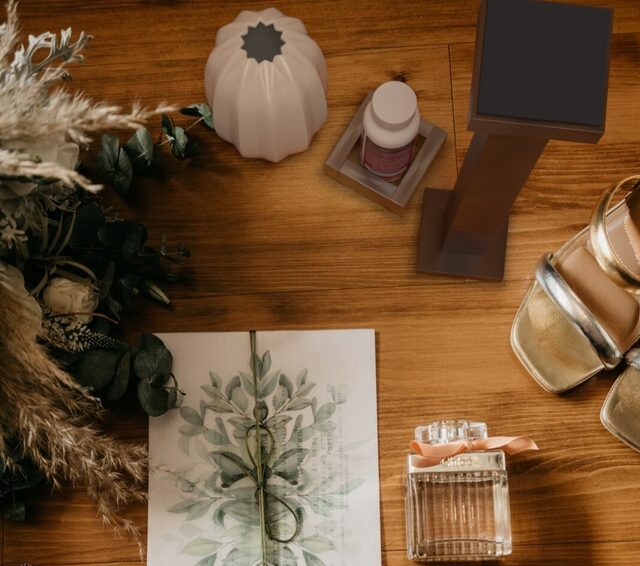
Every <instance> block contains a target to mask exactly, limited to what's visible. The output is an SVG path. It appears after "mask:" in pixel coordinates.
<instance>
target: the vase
mask: <svg viewBox="0 0 640 566" xmlns="http://www.w3.org/2000/svg"><path fill="white" fill-rule="evenodd" d="M203 77H204V79H203V84H204V93H205V98H206V100H207V102H208V105H209V107H210V109H211V110H212V118H213V119H212V120H213V126H214V130H215V132H216V135H217V136H218V137H219V138H221V139H222V140H224V141H226V142H228V143H229V144H232V145H233V146H234V147H235V149H236V150H237V152H238V153H239V155H240V156H241V157H242V158H244V159H247V158H248V159H263V160H266V161H269V162H273V163H278V162H280V161H282V160H283V159H285V158H287V157H288V156H291V155H295V154H298V153H301V152H305V151H308V149H309V147H310V145H311V142H312V139H313V137H314V135H315V134H316V133H318V132H319V131H320V130H321V129H322V128H323V127H324V126H325V125H326V123H327V120H328V113H329V109H328V103H327V97H326V96H327V92H328V87H329V72H328V67H327V63H326V59H325V56H324V53H323V50H322V49H321V48H320V45H318V43H317V42H316V41H315V40H314V39H313V38H312V37H311V36H310V35H309V34H308V30H307V27H306V24H305V23H304V22H303V21H302V19H300V18H298V17H293V16H288V15H286V14H284V13H283V12H282V11H281V10H279V9H278V8H276V7H272V6H271V7H268V8H265V9H262V10H257V11H256V10H247V9H245V10H241V11H240V12H239V14H237V16H236V17H235V18H234V20H232V22H230V23H227V24H225V25H223V26H221V27H220V28H219V29H218V30H217V32H216V34H215V41H214V47H213V49H212V50H211V52H210V53H209V56H208V59H207V61H206V63H205V68H204V76H203Z"/></svg>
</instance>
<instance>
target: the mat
mask: <svg viewBox="0 0 640 566" xmlns="http://www.w3.org/2000/svg"><path fill="white" fill-rule="evenodd" d="M610 12H611V9H603V8H594V7H584V6H575V5H565V4H556V3H546V2H537V1H527V0H488V1H487V12H486V22H485V33H484V43H483V53H482V64H481V74H480V84H479V95H478V105H477V114H480V115H489V116H499V117H508V118H517V119H527V120H536V121H546V122H555V123H564V124H574V125H583V126H593V127H600V126H601V124H602V112H603V99H604V87H605V74H606V62H607V49H608V37H609V24H610Z"/></svg>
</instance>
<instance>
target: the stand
mask: <svg viewBox="0 0 640 566" xmlns="http://www.w3.org/2000/svg"><path fill="white" fill-rule="evenodd" d="M374 93H375V90H374V91H373V90H372V89H370V90H369V91H368V93H367V95H366V96H365V98H364V99H363V101H362V103H361V104H360V105H359V107H358V109H357V111H356V112H355V113H354V116H353V117H352V119H351V120H350V122H349V124H348V125H347V127H346V129H345V130H344V132H343V133H342V135H341V137H340V138H339V140H338V141H337V143H336V145H335V146H334V148H333V150H332V151H331V153H330V155H329V157H328V158H327V160H326V161H325V162H324V166H325V168H324V175H326V176H327V177H328V178H331V179H333V180H334V181H336V182H338V183H340V184H342V185H343V186H345V187H346V188H349V189H350V190H352V191H354V192H356V193H357V194H359V195H361V196H363V197H365V198H366V199H368V200H370V201H372V202H374V203H375V204H377V205H379V206H381V207H383V209H386V210H388V211H390V212H391V213H393V214H395V215H397V216H398V217H400V218H402V217H403V216H404V214H405V212H406V210H407V208H408V207H409V205H410V203H411V202H412V200H413V199H414V197H415V195H416V193H417V192H418V190H419V188H420V187H421V185H422V183H423V182H424V180H425V178H426V177H427V175H428V173H429V172H430V170H431V168H432V166H433V165H434V163H435V162H436V160H437V159H438V156H439V155H440V153H441V152H442V150H443V149H444V146H445V145H446V142H447V138H448V135H449V132H448V131H446V130H444V129H442V128H441V127H439V126H437V125H435V124H433V123H432V122H430V121H428V120H426V119H424V118H423V117H421V116H420V126H419V130H418V135H417V139H416V143H415V146H417V147H419V148H420V149H419V150H418V152H417V154H416V156H415V157H414V159H413V160H412V162H411V164H410V167H409V169H408V171H407V172H406V173H405V174H404V175H403V176H402V180H401V181H400V182H399V184H398V186H397V185H395V184H393V183H392V182H388V181H386V180H384V179H383V178H381V177H379V176H377V175H375V174H374V173H372V172H370V171H368V170H366V169H365V168H363V167H361V165H360V164H358V163H356V162H354V161H352V160H353V158H354V156H355V154H357V151H358V149H360V144H361V134H362V124H363V116H364V111H365V109H366V107H367V105H368V103H369V102H370V101H371V100H372V98H373V95H374Z"/></svg>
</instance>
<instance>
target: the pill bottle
mask: <svg viewBox="0 0 640 566" xmlns="http://www.w3.org/2000/svg"><path fill="white" fill-rule="evenodd" d="M374 92H375V93H374V95H373V98H372V100H371V101H370V102H369V103H368V105H367V107H366V109H365V111H364V116H363V124H362V134H361V144H360V146H359V155H358V156H359V163H360V164H359V165H360V166H361V167H363V168H365V169H366V170H368V171H370V172H372V173H374V174H375V175H377V176H379V177H381V178H383V179H384V180H386V181H388V182H390V183H392V182H396V181H398V180H400V179H401V178H403V177H404V176H405V174H406V173H407V171H408V169H409V168H410V166H411V164H412V162H413V156H414V155H413V154H414V153H415V152H414V151H415V147H416V145H415V143H416V139H417V135H418V130H419V126H420V117H421V114H420V110H419V108H418V105H417V104H418V99H417V96H416V93H415V91H414V90H413V89H412V88H411V86H409V85H408V84H406V83H405V82H402V81H398V80H391V81H386V82H384V83H382V84H381V85H379V86H378V87H377V88H376V89H375V90H374Z"/></svg>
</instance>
